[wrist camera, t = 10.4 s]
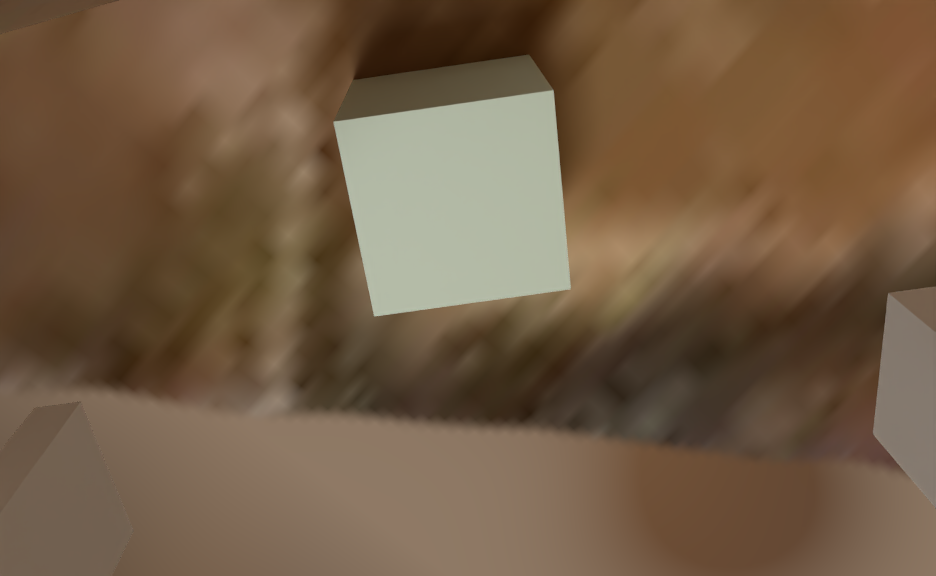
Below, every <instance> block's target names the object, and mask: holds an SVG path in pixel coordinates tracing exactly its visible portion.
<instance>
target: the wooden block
mask: <svg viewBox="0 0 936 576" xmlns="http://www.w3.org/2000/svg"><path fill="white" fill-rule="evenodd" d="M114 1H118V0H0V34H2V33H6V32H9V31H13V30H16V29H20V28H23V27H27V26H30V25H34V24H37V23H41V22H44V21H48V20H51V19H55V18H58V17H62V16H65V15H69V14H72V13H76V12H79V11H83V10H86V9H90V8H93V7H97V6H100V5H104V4H107V3H111V2H114Z"/></svg>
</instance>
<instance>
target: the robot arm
mask: <svg viewBox="0 0 936 576" xmlns="http://www.w3.org/2000/svg"><path fill="white" fill-rule="evenodd" d="M873 435H874V436H875V437H876V438H877V439H878V441H879V442H880V443H881V444H882V445H883V446H884V448H885V449H886V450H887V451H888V452H889V454H890V455H891V456H892V457H893V458H894V459H895V461H896V462H897V463H898V464H899V465H900V467H901V468H902V469H903V470H904V471H905V472H906V474H907V475H908V476H909V477H910V478H911V480H912V481H913V482H914V483H915V484H916V485H917V487H918V488H919V489H920V490H921V491H922V493H923V494H924V495H925V496H926V497H927V498H928V500H929V501H930V502H931V503H932V504H933V506H934V507H935V508H936V287H929V288H922V289H915V290H907V291H900V292H892V293H888V300H887V309H886V318H885V328H884V337H883V346H882V355H881V365H880V374H879V383H878V392H877V402H876V411H875V420H874V429H873ZM132 533H133V529H132V526H131V524H130V521H129V519H128V516H127V514H126V512H125V509H124V507H123V504H122V502H121V499H120V497H119V494H118V492H117V489H116V487H115V484H114V482H113V479H112V477H111V475H110V472H109V470H108V467H107V465H106V462H105V460H104V457H103V455H102V452H101V450H100V447H99V445H98V443H97V440H96V438H95V435H94V433H93V430H92V428H91V425H90V423H89V421H88V418H87V416H86V413H85V411H84V408H83V406H82V403H81V402H75V403H67V404H59V405H52V406H44V407H37V408H34V409H33V411H32V412H31V413H30V414H29V416H28V417H27V418H26V419H25V420H24V422H23V423H22V424H21V425H20V427H19V428H18V429H17V430H16V432H15V433H14V434H13V435H12V437H11V438H10V439H9V440H8V442H7V443H6V444H5V445H4V447H3V448H2V449H1V450H0V576H112V574H113V572H114V570H115V568H116V566H117V564H118V562H119V560H120V558H121V555H122V553H123V551H124V549H125V547H126V545H127V543H128V541H129V539H130V537H131V535H132Z"/></svg>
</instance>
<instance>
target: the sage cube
mask: <svg viewBox="0 0 936 576" xmlns="http://www.w3.org/2000/svg"><path fill="white" fill-rule="evenodd" d="M334 126H335V131H336V136H337V141H338V145H339V150H340V155H341V160H342V164H343V169H344V174H345V179H346V184H347V188H348V193H349V198H350V203H351V207H352V212H353V217H354V222H355V227H356V231H357V236H358V241H359V246H360V250H361V255H362V260H363V265H364V270H365V274H366V279H367V284H368V289H369V294H370V298H371V303H372V308H373V313H374V316H381V315H388V314H395V313H402V312H410V311H417V310H424V309H431V308H438V307H446V306H453V305H460V304H467V303H474V302H482V301H489V300H496V299H503V298H510V297H518V296H525V295H532V294H539V293H546V292H554V291H561V290H568V289H571V286H570V275H569V263H568V251H567V240H566V228H565V217H564V205H563V194H562V182H561V170H560V159H559V147H558V136H557V124H556V113H555V101H554V90H553V89H552V87H551V86H550V84H549V83H548V81H547V80H546V78H545V77H544V76H543V74H542V73H541V71H540V70H539V68H538V67H537V65H536V64H535V62H534V61H533V60H532V58H531V57H530V55H522V56H516V57H509V58H502V59H495V60H488V61H481V62H474V63H467V64H460V65H453V66H446V67H440V68H433V69H426V70H419V71H412V72H405V73H398V74H391V75H384V76H377V77H371V78H364V79H357V80H353V81H352V83H351V86H350V88H349V90H348V92H347V94H346V96H345V98H344V101H343V103H342V105H341V107H340V109H339V111H338V113H337V116H336V118H335V120H334Z"/></svg>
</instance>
